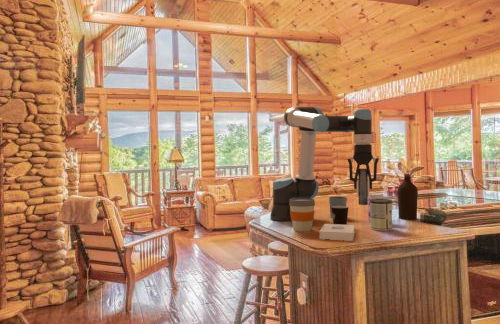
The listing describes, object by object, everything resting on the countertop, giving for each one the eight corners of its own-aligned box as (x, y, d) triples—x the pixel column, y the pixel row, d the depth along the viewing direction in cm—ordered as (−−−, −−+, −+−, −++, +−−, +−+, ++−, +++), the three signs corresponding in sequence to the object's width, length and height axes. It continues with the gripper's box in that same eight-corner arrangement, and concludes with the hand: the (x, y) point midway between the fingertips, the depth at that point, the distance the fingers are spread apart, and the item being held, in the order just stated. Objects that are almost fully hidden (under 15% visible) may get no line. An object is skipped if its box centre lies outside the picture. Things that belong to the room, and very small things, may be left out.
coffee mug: (349, 228, 187) (349, 208, 187) (331, 227, 188) (331, 208, 188) (347, 223, 198) (347, 205, 198) (331, 223, 200) (331, 204, 200)
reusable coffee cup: (318, 228, 188) (317, 198, 188) (311, 233, 177) (311, 201, 177) (294, 226, 194) (293, 197, 193) (286, 231, 182) (285, 200, 182)
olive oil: (405, 220, 206) (404, 174, 205) (393, 217, 216) (393, 174, 215) (422, 219, 208) (421, 174, 207) (410, 216, 218) (409, 173, 218)
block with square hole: (324, 231, 181) (324, 223, 181) (354, 232, 177) (354, 225, 176) (319, 239, 164) (319, 231, 164) (352, 240, 159) (352, 232, 159)
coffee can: (370, 226, 191) (370, 198, 190) (392, 227, 187) (391, 199, 187) (369, 230, 181) (369, 201, 181) (392, 231, 178) (392, 201, 177)
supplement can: (367, 222, 201) (367, 194, 200) (369, 220, 208) (368, 193, 208) (384, 223, 198) (383, 195, 197) (384, 220, 205) (384, 193, 205)
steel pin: (358, 203, 171) (358, 168, 170) (367, 203, 169) (367, 168, 169) (358, 204, 167) (358, 168, 166) (367, 205, 166) (367, 168, 165)
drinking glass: (328, 218, 215) (328, 197, 214) (330, 216, 224) (329, 196, 224) (346, 219, 212) (346, 198, 211) (347, 216, 221) (347, 196, 221)
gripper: (342, 144, 166) (343, 196, 167) (383, 143, 161) (383, 197, 162) (343, 144, 173) (343, 194, 174) (382, 143, 168) (382, 195, 169)
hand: (363, 196), depth 168 cm, fingers closed on steel pin, 4 cm apart
